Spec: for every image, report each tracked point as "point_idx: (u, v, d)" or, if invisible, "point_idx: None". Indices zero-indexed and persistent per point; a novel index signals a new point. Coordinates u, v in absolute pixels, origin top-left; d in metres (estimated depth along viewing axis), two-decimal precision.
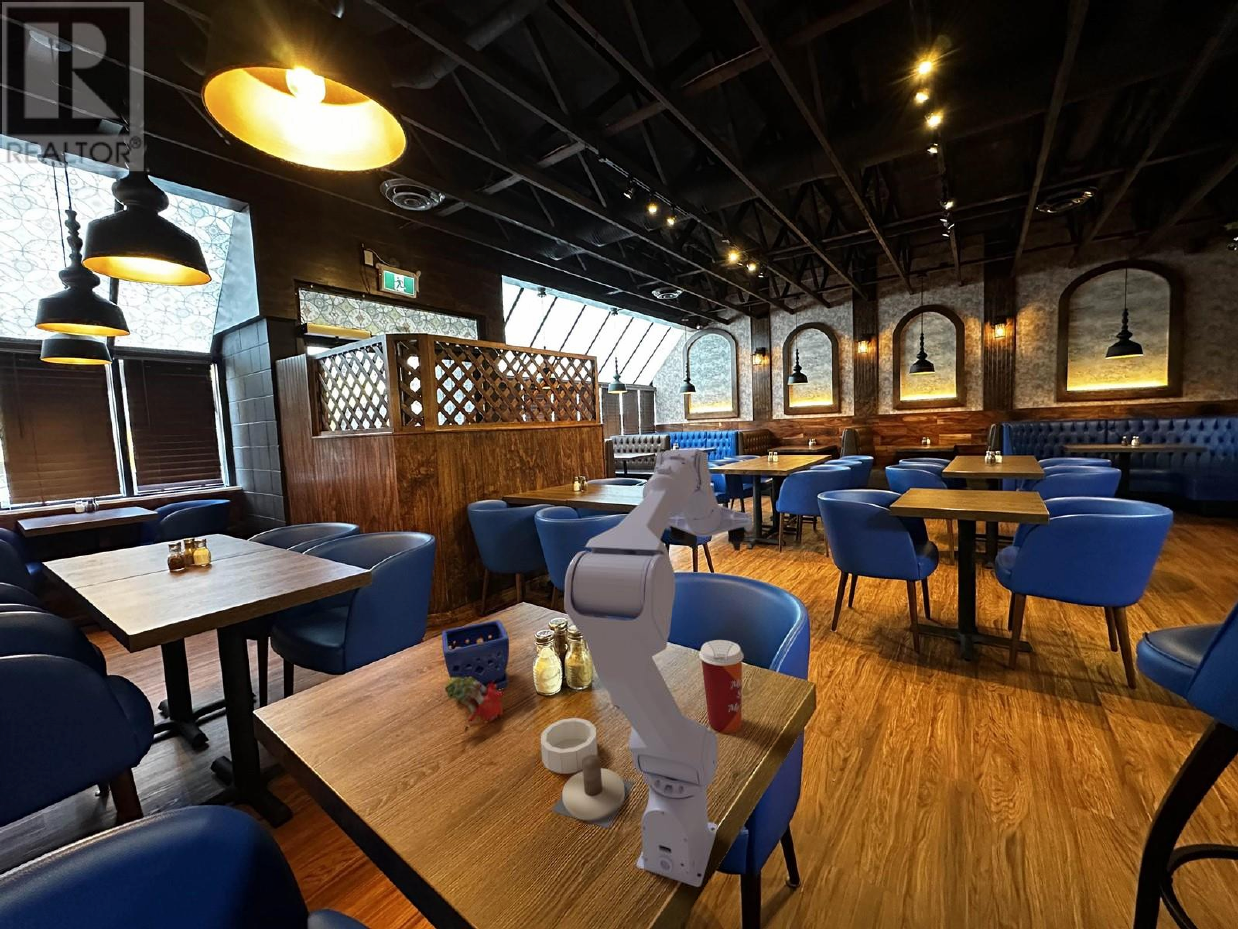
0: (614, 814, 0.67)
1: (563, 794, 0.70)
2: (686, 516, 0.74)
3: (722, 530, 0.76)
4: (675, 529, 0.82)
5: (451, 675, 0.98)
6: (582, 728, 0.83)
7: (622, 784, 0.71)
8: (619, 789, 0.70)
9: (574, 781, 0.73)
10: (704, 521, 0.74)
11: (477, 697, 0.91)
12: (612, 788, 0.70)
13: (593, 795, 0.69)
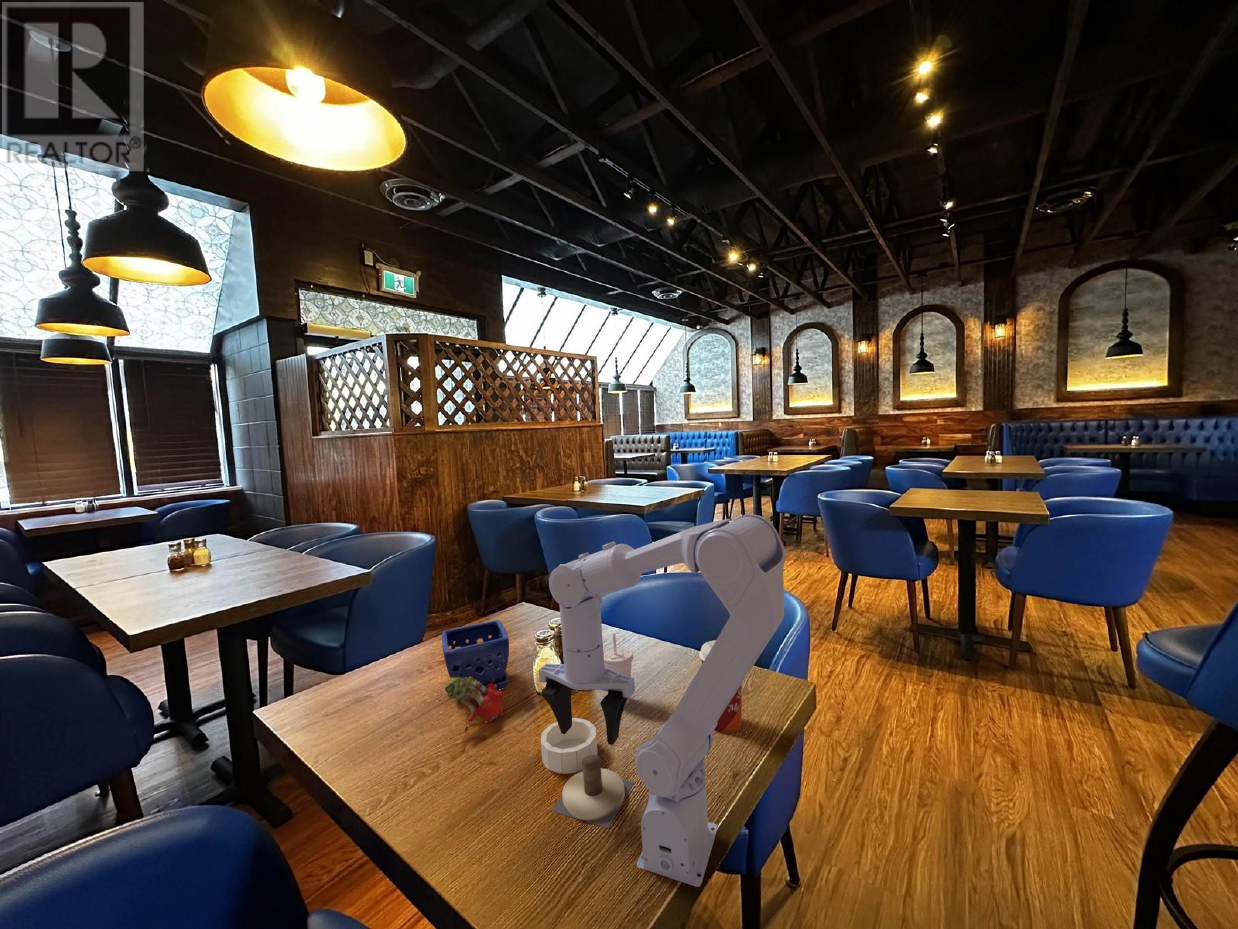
0: (614, 814, 0.67)
1: (563, 794, 0.70)
2: (589, 649, 0.67)
3: (597, 685, 0.66)
4: (550, 685, 0.71)
5: (451, 675, 0.98)
6: (582, 728, 0.83)
7: (622, 784, 0.71)
8: (619, 789, 0.70)
9: (574, 780, 0.73)
10: (581, 659, 0.66)
11: (477, 697, 0.91)
12: (612, 788, 0.70)
13: (593, 795, 0.69)
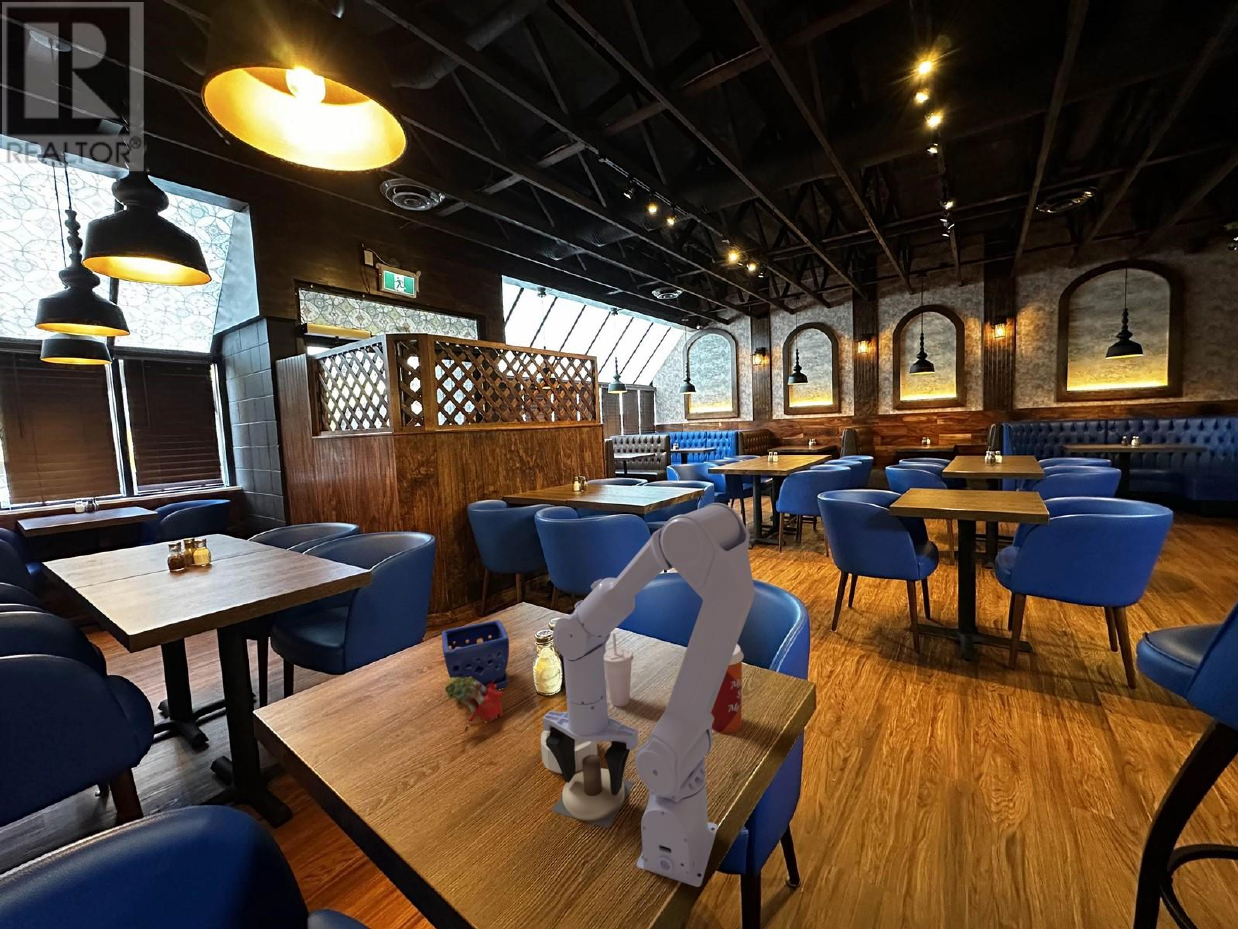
0: (614, 814, 0.67)
1: (563, 794, 0.70)
2: (593, 701, 0.67)
3: (601, 737, 0.67)
4: (554, 734, 0.71)
5: (451, 675, 0.98)
6: None
7: (622, 784, 0.71)
8: None
9: (574, 781, 0.73)
10: (585, 712, 0.67)
11: (477, 697, 0.91)
12: None
13: (593, 795, 0.69)
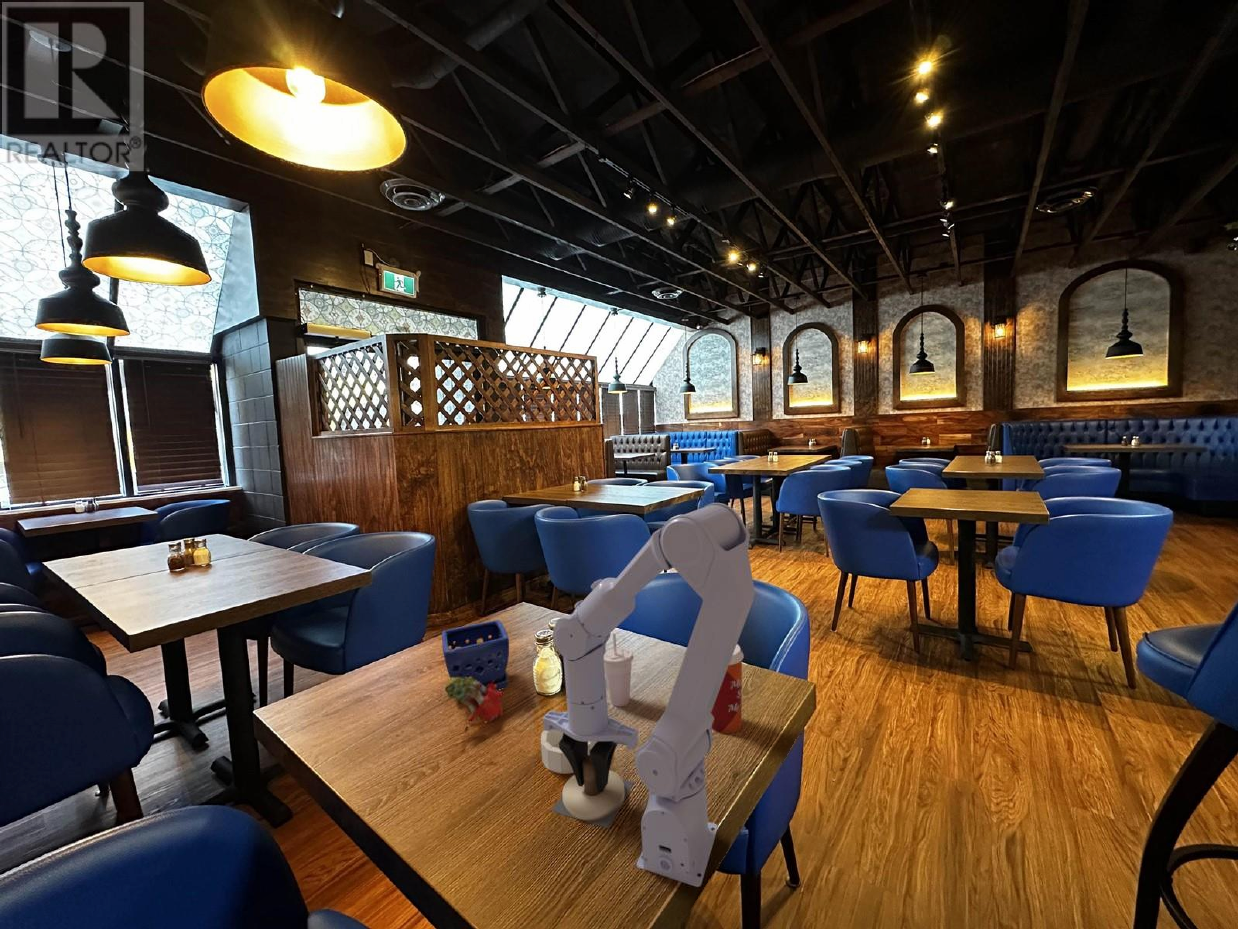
0: (614, 814, 0.67)
1: (563, 794, 0.70)
2: (593, 701, 0.67)
3: (601, 737, 0.67)
4: (567, 737, 0.70)
5: (451, 675, 0.98)
6: None
7: (622, 784, 0.71)
8: (619, 789, 0.70)
9: (574, 780, 0.73)
10: (585, 712, 0.67)
11: (477, 697, 0.91)
12: (612, 788, 0.70)
13: (593, 795, 0.69)
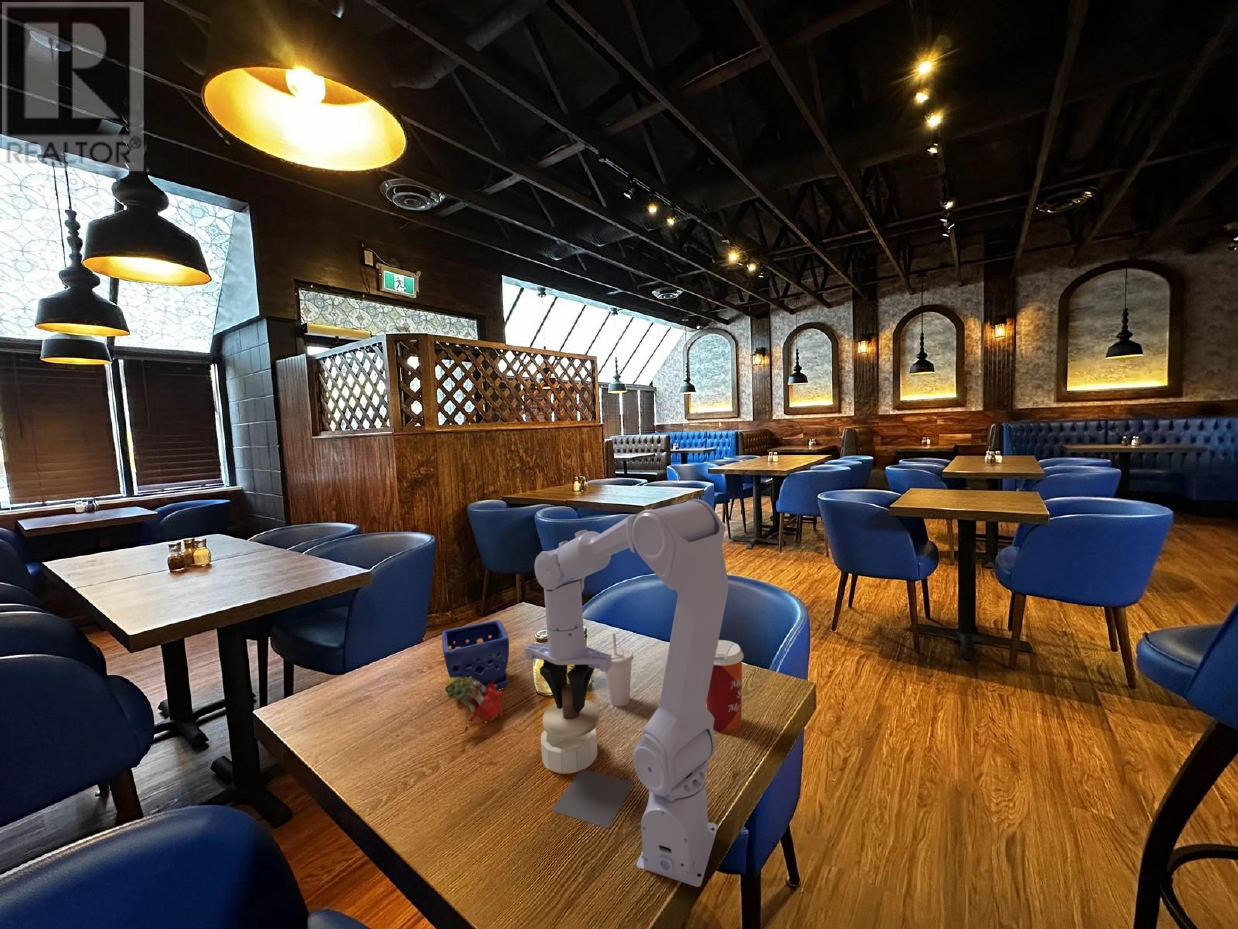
0: (614, 814, 0.67)
1: (543, 719, 0.76)
2: (567, 628, 0.73)
3: (578, 660, 0.73)
4: (547, 664, 0.77)
5: (451, 675, 0.98)
6: None
7: (597, 709, 0.78)
8: (595, 713, 0.77)
9: (553, 709, 0.79)
10: (563, 637, 0.74)
11: (477, 697, 0.91)
12: (589, 713, 0.77)
13: (571, 718, 0.76)
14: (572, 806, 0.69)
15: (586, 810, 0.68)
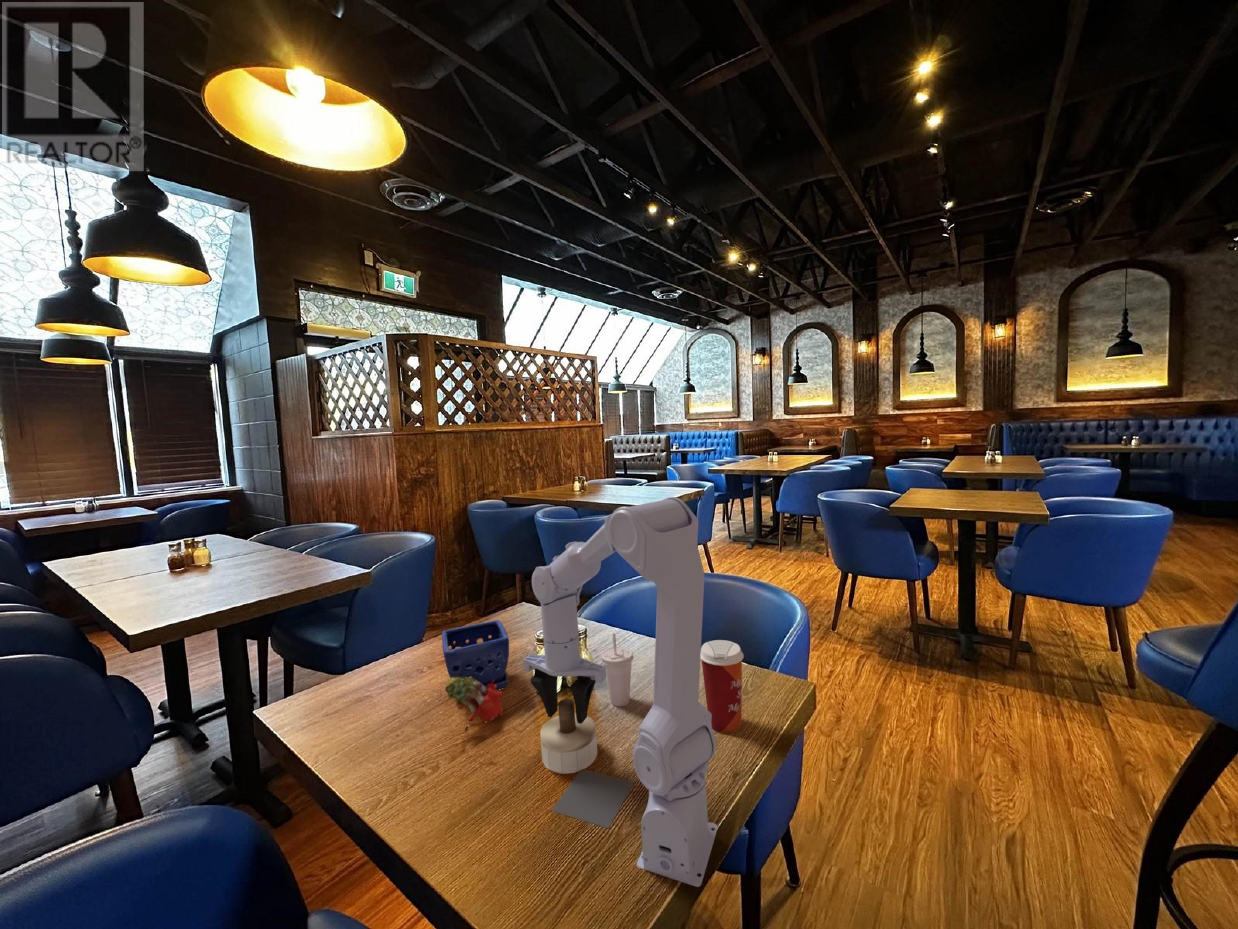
0: (614, 814, 0.67)
1: (541, 733, 0.79)
2: (562, 641, 0.76)
3: (573, 672, 0.76)
4: (538, 674, 0.80)
5: (451, 675, 0.98)
6: None
7: (593, 724, 0.81)
8: (591, 727, 0.80)
9: (550, 723, 0.82)
10: (559, 650, 0.76)
11: (477, 697, 0.91)
12: (585, 727, 0.80)
13: (568, 733, 0.79)
14: (572, 806, 0.69)
15: (586, 810, 0.68)
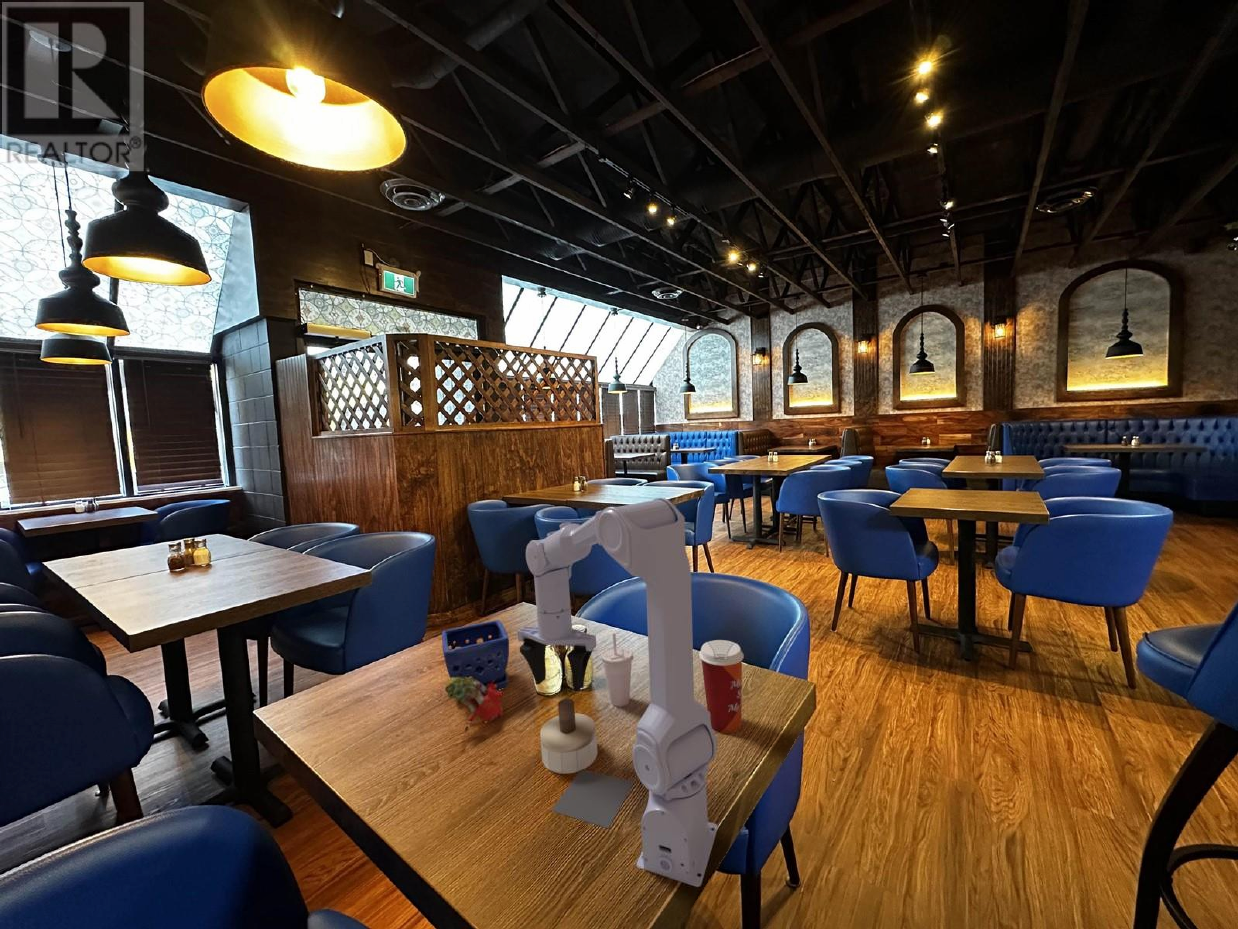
0: (614, 814, 0.67)
1: (541, 733, 0.79)
2: (553, 611, 0.80)
3: (565, 641, 0.80)
4: (527, 643, 0.84)
5: (451, 675, 0.98)
6: None
7: (593, 724, 0.81)
8: (591, 727, 0.80)
9: (550, 723, 0.82)
10: (551, 620, 0.80)
11: (478, 697, 0.91)
12: (585, 727, 0.80)
13: (568, 733, 0.79)
14: (572, 806, 0.69)
15: (586, 810, 0.68)
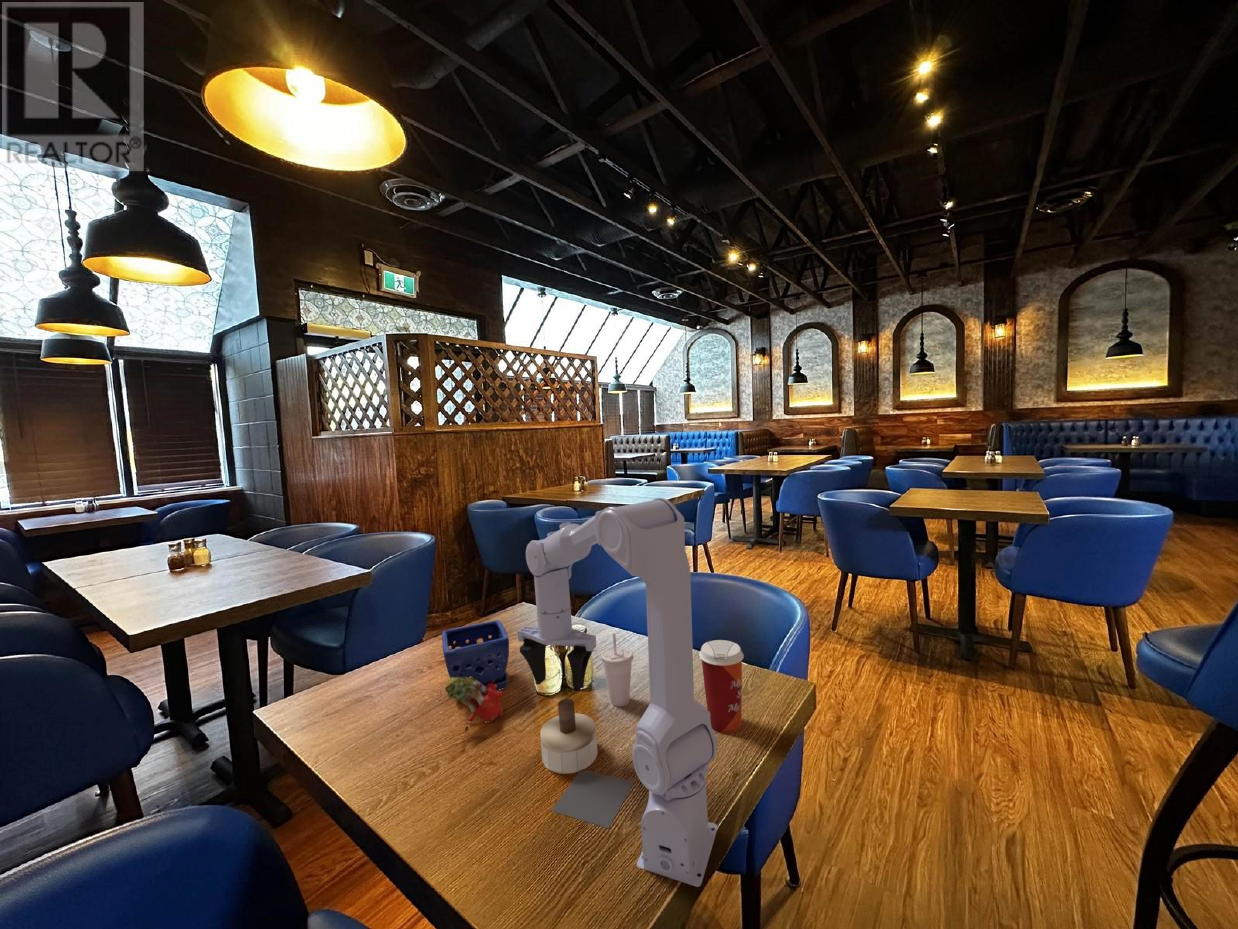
0: (614, 814, 0.67)
1: (541, 733, 0.79)
2: (553, 612, 0.80)
3: (565, 641, 0.80)
4: (527, 644, 0.84)
5: (451, 675, 0.98)
6: None
7: (593, 724, 0.81)
8: (591, 727, 0.80)
9: (550, 723, 0.82)
10: (551, 620, 0.80)
11: (478, 697, 0.91)
12: (585, 727, 0.80)
13: (568, 733, 0.79)
14: (572, 806, 0.69)
15: (586, 810, 0.68)
